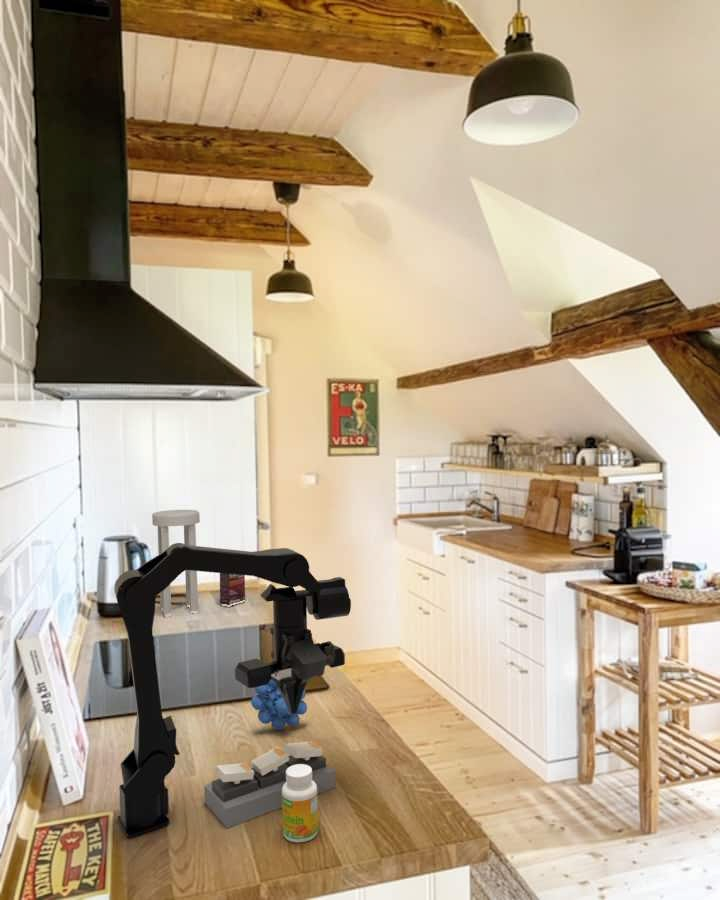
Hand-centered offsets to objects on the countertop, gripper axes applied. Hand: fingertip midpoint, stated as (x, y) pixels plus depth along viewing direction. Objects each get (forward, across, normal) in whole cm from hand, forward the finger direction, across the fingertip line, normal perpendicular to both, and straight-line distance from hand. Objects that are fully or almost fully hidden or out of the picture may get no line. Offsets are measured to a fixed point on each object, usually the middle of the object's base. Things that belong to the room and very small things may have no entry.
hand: (292, 713), depth 117 cm
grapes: (+13, +8, +21) cm, 26 cm away
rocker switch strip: (+13, -4, 0) cm, 14 cm away
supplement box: (+13, +45, +126) cm, 134 cm away
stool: (+13, +26, +129) cm, 132 cm away
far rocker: (+8, +2, 0) cm, 8 cm away
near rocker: (+8, -11, 0) cm, 14 cm away
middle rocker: (+8, -4, 0) cm, 9 cm away
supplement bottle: (+13, -6, -12) cm, 19 cm away
